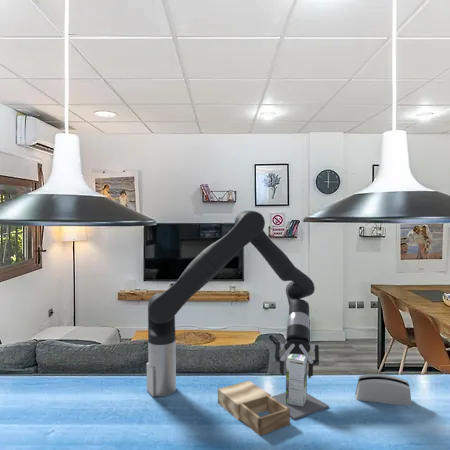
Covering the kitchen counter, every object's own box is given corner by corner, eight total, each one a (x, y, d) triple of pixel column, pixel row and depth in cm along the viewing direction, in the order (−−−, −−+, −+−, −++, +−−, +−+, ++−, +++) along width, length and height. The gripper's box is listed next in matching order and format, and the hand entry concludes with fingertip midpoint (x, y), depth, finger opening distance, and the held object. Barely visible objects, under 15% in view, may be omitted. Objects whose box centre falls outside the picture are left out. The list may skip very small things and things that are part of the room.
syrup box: (289, 396, 124) (289, 352, 124) (307, 399, 122) (307, 354, 122) (285, 404, 119) (285, 358, 119) (304, 407, 117) (304, 360, 117)
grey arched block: (409, 398, 123) (411, 374, 120) (411, 410, 119) (414, 385, 115) (354, 392, 128) (355, 368, 124) (355, 403, 124) (356, 379, 120)
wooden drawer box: (291, 424, 109) (291, 408, 109) (257, 436, 103) (257, 420, 102) (249, 393, 127) (248, 380, 127) (217, 402, 121) (217, 388, 121)
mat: (294, 420, 111) (294, 418, 111) (265, 400, 123) (265, 398, 123) (328, 407, 118) (328, 405, 118) (298, 390, 130) (298, 388, 130)
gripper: (276, 321, 129) (272, 368, 118) (319, 324, 125) (319, 373, 114) (278, 332, 134) (274, 378, 123) (319, 335, 131) (319, 383, 120)
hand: (296, 375), depth 119 cm, fingers open, 8 cm apart
